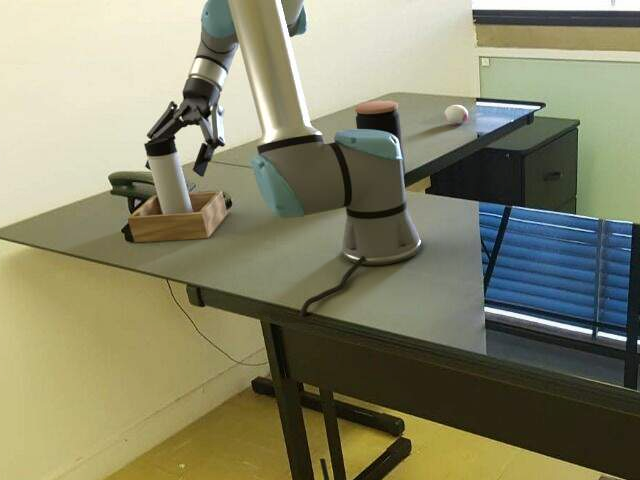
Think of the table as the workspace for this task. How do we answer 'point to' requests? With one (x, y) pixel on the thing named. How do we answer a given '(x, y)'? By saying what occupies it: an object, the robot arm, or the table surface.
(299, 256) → the table surface
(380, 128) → the coffee jar
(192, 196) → the crate
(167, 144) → the travel mug
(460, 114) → the stress ball
